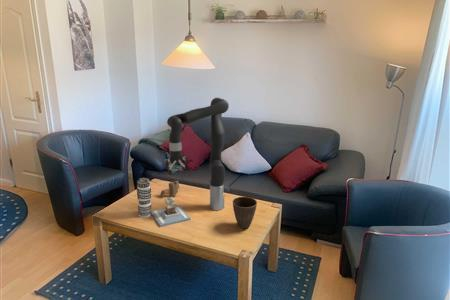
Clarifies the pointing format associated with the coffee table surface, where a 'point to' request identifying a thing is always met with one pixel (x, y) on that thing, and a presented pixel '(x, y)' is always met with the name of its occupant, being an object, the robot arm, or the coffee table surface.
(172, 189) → the wooden block set
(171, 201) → the block
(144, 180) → the grey stacked tower
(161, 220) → the jig
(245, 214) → the plant pot
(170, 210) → the block
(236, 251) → the coffee table surface
